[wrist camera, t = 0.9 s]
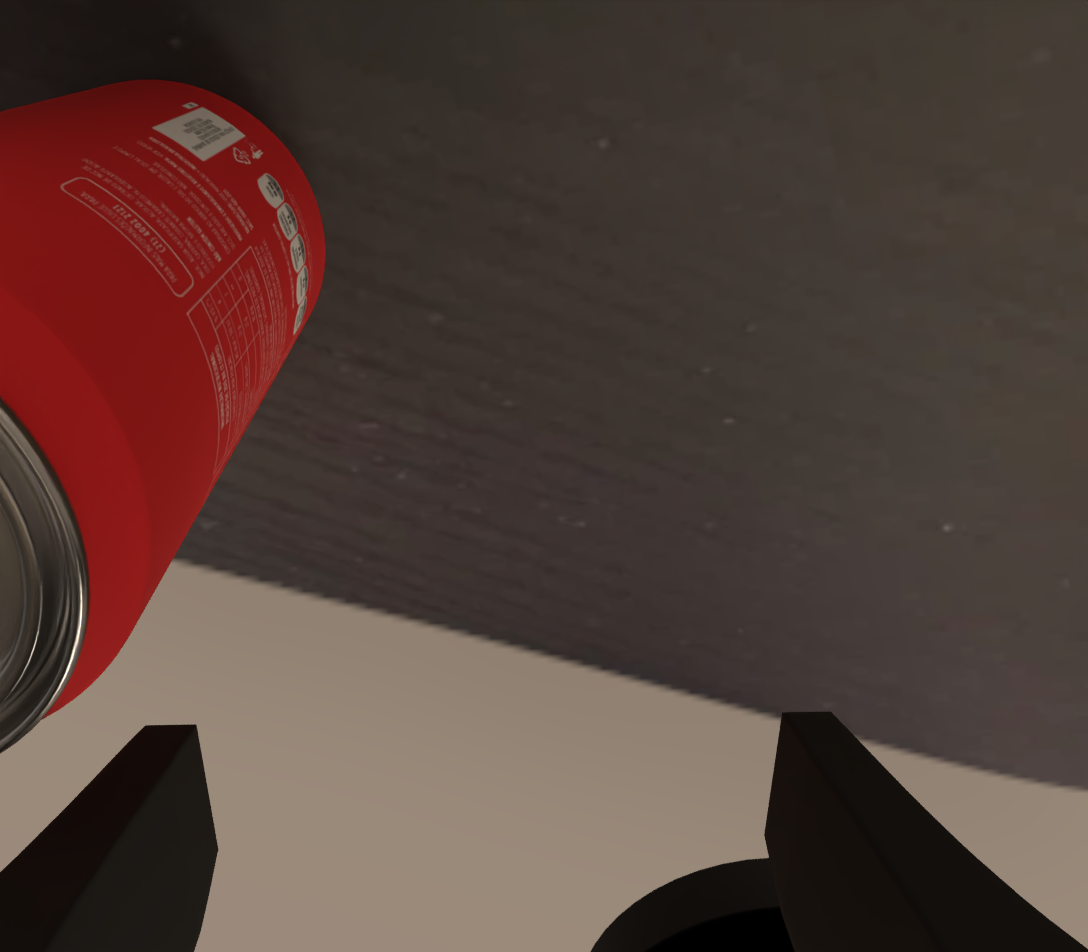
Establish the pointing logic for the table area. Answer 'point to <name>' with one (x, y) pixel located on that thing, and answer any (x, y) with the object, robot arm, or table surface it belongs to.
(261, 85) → the table surface
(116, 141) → the beverage can
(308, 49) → the table surface
